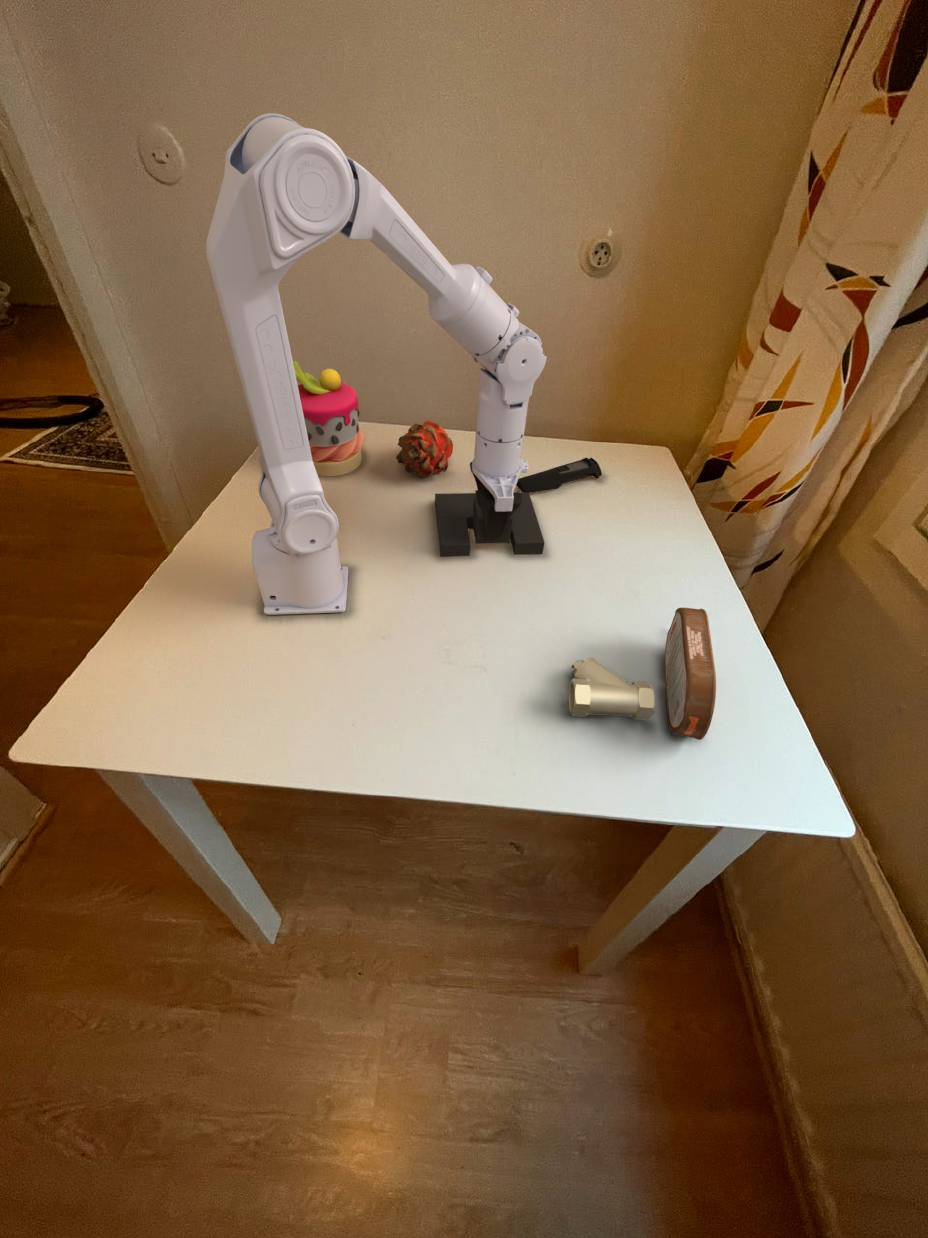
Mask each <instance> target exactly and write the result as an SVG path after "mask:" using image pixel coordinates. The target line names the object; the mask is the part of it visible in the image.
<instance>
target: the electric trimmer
mask: <svg viewBox="0 0 928 1238" xmlns="http://www.w3.org/2000/svg"><path fill="white" fill-rule="evenodd" d="M602 476H603V472H602V469H601V466H600V464H599V463H598V461H597V460H596V459H594V458H593V457H589V458H588V457H583V458H582V459H579V460H575V461H573V462H569V463H565V464H562V465H559V466H555V467H551V468H549V469H547V470H543V471H540V472H536V473H533V474H530V475H527V476H524V477H519V479H518V481H517V484H516V487H517V489H519V490H520V492H529V494H532V493H539V492H546V491H551V490H558V489H559V488H560V487H561V486H562V485H564V484H568V483H572V482H576V481H580V480H584V479H588V478H591V477H593V478H595V479H596V480H597V479H600V477H602Z"/></svg>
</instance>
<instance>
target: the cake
mask: <svg viewBox="0 0 928 1238" xmlns="http://www.w3.org/2000/svg"><path fill="white" fill-rule="evenodd" d="M293 365H294V370H295V375H296V380H297V383H299V384H297V385H298V390H299V395H300V400H301V405H302V410H303V415H304V420H305V425H306V430H307V435H308V440H309V445H310V450H311V455H312V460H313V463H314V466H315V469H316V472H317V475H318V477H336V476H337V477H338V476H342V475H346V474H349V473H352V472H353V471H355V470H356V469H358V468H359V466H361V464H362V460H363V456H362V447H363V444H364V440H365V437H364V434H363V431H362V430H361V428H360V424H359V417H360V414H361V413H360V412H361V411H360V410H359V399H358V394H357V392H356V390H355V389H354V388H353V387H352V386H351V385H349V384H347V383H345V382H342V378H341V376H340V374H339V372H338V371H336V370H335V369H333V368H326V369H324V370H322V371H321V372H320V373H319V375H318V376H319V378H318V379H316V378H315V377H314V376H313V375H312V374H310V373H308V372H304V371H303V370H302V368H301V366H300V364H299V362H298V361H297V360H293Z"/></svg>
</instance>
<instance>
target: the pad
mask: <svg viewBox="0 0 928 1238" xmlns="http://www.w3.org/2000/svg"><path fill="white" fill-rule="evenodd" d="M512 521H513V518H512V515H511V517H510V519H509V521H508V523H507V525H506V528H505V530H504V533H503V535H502V537H501V538H486V537H485V532H484V526H483V514H482V511H481V509H480V507H479V505H478V503H477V500H476V499H474V506H473V520H472V525H473V529H472V530H473V536H474V542H475V544H476V545H477V544H478V545H479V544H480V545H481V544H482V545H483V544H511V541H510V536H511V528H512Z"/></svg>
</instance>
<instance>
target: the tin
mask: <svg viewBox="0 0 928 1238" xmlns="http://www.w3.org/2000/svg"><path fill="white" fill-rule="evenodd" d="M664 646H665V648H664V682H665V683H664V684H665V700H666V715H667V724H668V727H669V731H670V732H671V733H672V734H674V735H676V736H679V737H686V738H690V739H695V740H697V741H698V740H699V741H700V740H702V739H704V738H705V736H706V735H707V734H708V732H709V729H710V726H711V723H712V720H713V716H714V712H715V707H716V698H717V673H716V666H715V660H714V652H713V644H712V638H711V630H710V622H709V616H708V613H707V611H706V610H705V609H704V608H693V607H678V608H676V609H675V611H674V616H673V618H672V622H671V624H670V627H669V628H668V630H667V634H666V639H665V645H664Z"/></svg>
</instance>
